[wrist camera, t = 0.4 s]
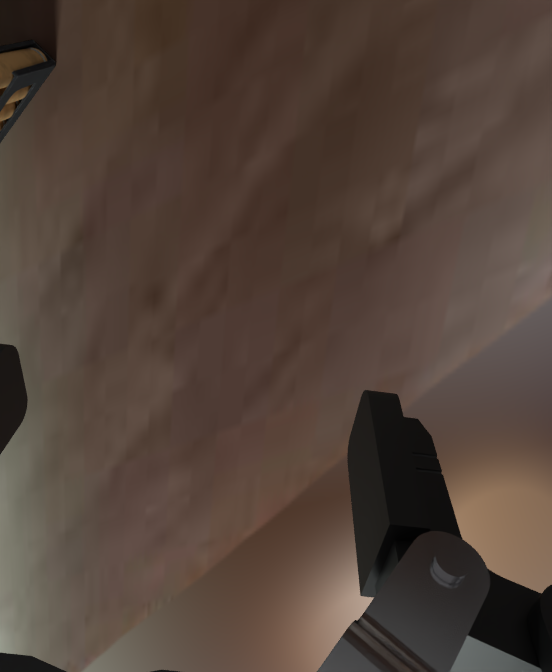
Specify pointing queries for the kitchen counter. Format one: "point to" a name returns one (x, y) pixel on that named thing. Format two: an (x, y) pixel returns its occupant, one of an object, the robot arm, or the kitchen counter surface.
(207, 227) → the kitchen counter surface
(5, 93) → the ammunition clip
